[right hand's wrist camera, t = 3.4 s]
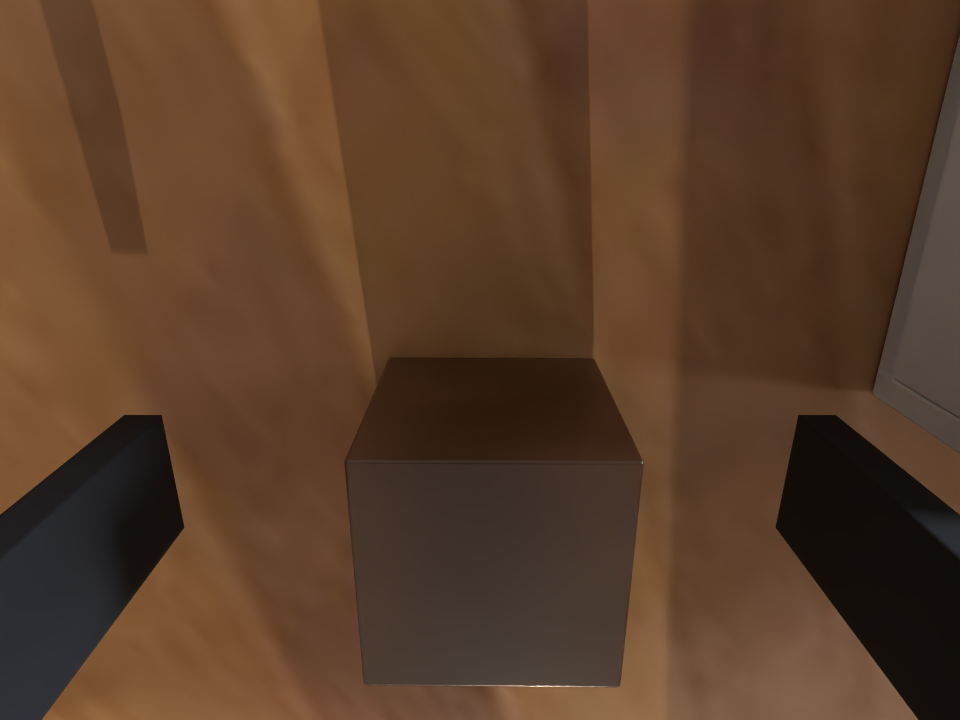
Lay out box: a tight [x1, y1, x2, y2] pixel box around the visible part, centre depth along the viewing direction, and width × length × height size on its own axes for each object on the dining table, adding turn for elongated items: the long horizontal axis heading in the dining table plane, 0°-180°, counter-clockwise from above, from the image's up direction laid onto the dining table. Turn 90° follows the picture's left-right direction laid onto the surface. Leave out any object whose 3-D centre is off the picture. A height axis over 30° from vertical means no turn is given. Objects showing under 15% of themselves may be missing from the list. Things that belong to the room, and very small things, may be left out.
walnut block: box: [345, 358, 644, 687], centre depth 12 cm, size 4×4×4 cm
